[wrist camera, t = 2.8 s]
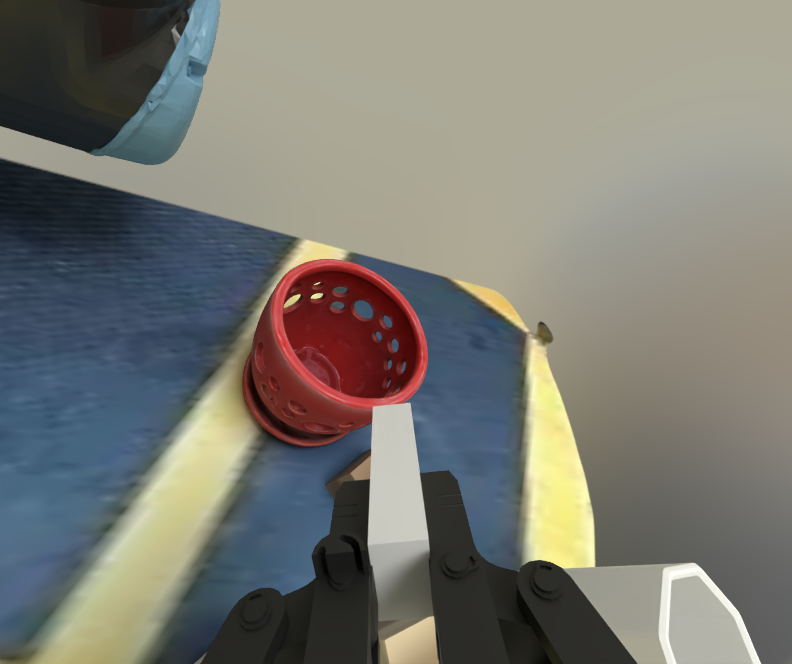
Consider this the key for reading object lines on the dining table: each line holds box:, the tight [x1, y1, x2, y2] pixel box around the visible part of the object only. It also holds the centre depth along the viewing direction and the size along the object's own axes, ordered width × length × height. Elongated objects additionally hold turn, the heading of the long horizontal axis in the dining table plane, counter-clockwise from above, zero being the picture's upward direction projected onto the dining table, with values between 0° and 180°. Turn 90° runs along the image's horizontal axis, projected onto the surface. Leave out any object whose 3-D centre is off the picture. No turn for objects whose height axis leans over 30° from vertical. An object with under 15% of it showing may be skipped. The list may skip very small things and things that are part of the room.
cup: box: [563, 563, 761, 664], centre depth 30 cm, size 11×11×18 cm
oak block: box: [378, 616, 439, 664], centre depth 29 cm, size 5×5×5 cm
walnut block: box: [325, 449, 371, 499], centre depth 34 cm, size 5×5×5 cm
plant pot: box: [243, 259, 428, 447], centre depth 34 cm, size 13×13×12 cm
